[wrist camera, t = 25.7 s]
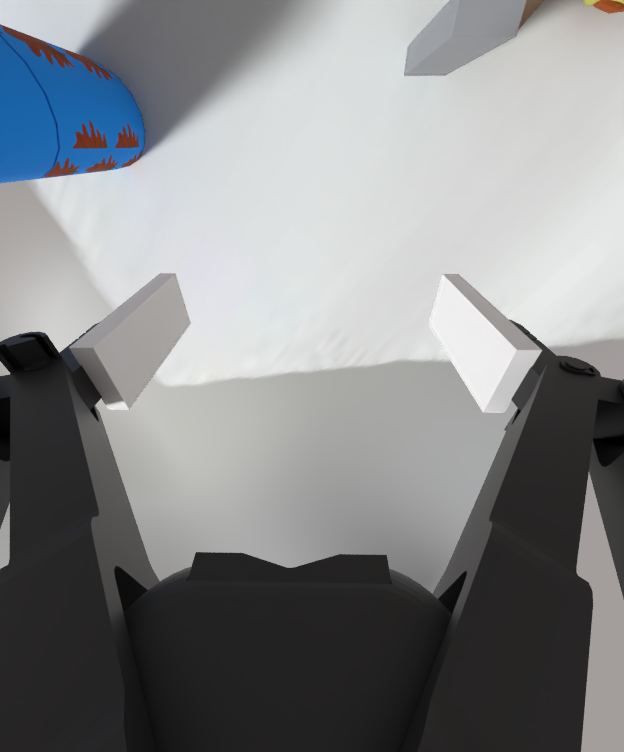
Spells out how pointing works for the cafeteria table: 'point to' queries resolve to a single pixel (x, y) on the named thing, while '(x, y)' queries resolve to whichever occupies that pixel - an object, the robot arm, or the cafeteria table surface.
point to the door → (529, 10)
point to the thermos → (61, 113)
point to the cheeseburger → (607, 5)
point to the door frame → (462, 35)
